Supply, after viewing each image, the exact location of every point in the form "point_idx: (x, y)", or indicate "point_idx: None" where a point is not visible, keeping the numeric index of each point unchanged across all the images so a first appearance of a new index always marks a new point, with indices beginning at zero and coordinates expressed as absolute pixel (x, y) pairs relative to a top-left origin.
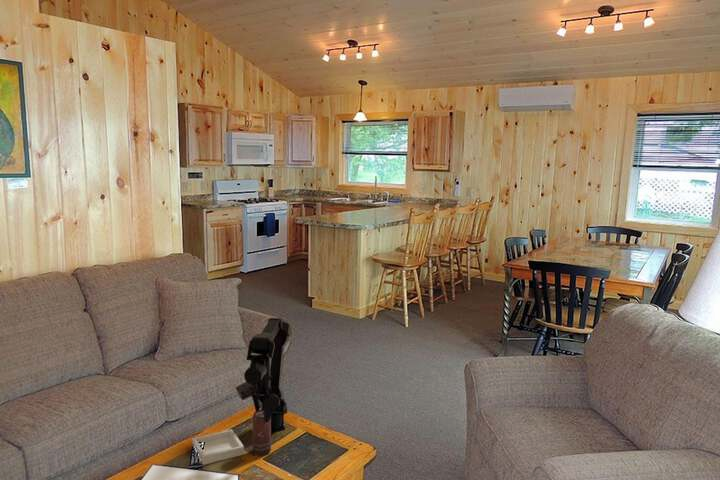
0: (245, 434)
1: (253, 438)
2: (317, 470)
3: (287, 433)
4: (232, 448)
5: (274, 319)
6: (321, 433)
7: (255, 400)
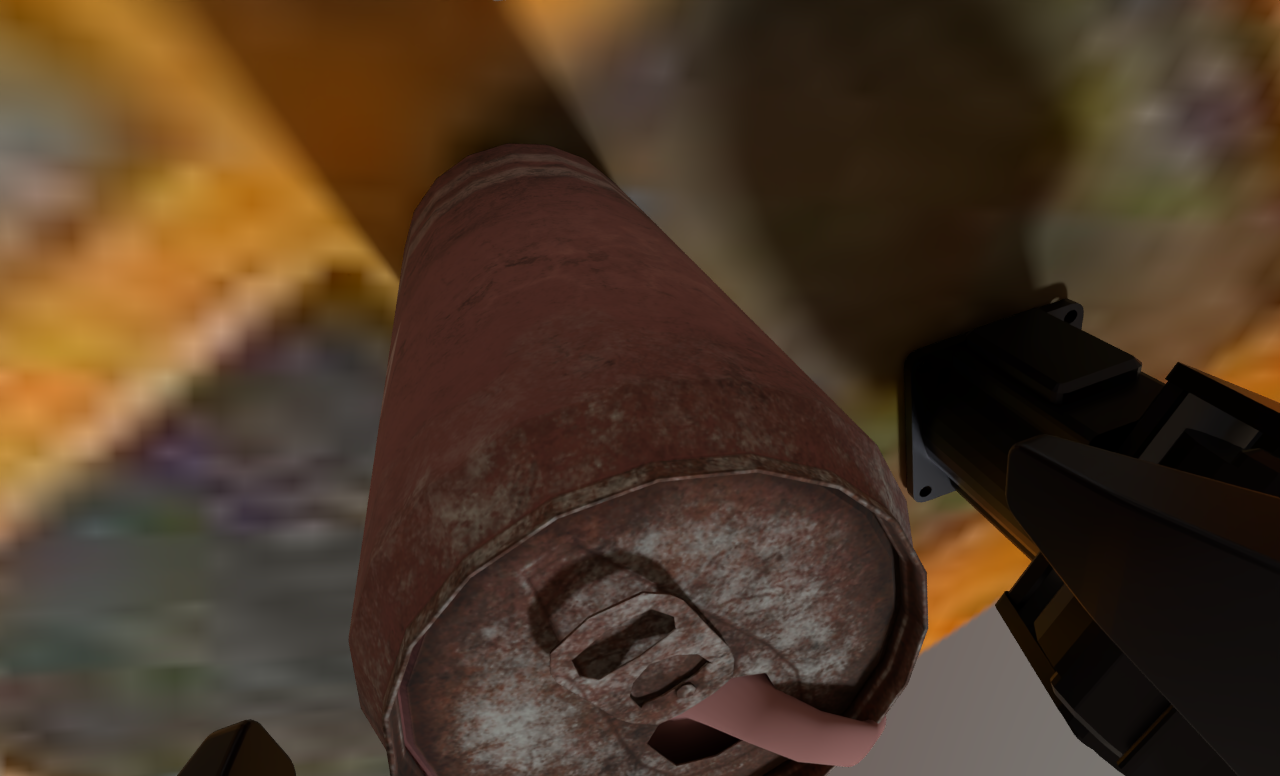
0: (1005, 71)
1: (501, 200)
2: (62, 767)
3: None
4: None
5: None
6: None
7: None
